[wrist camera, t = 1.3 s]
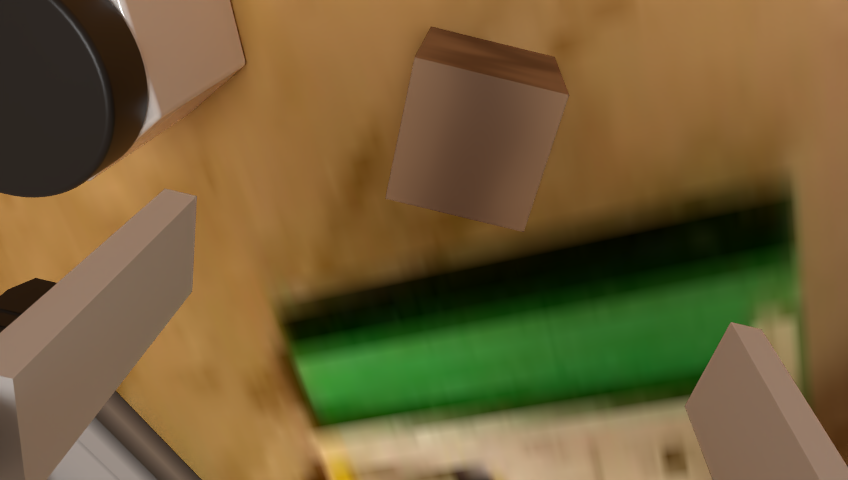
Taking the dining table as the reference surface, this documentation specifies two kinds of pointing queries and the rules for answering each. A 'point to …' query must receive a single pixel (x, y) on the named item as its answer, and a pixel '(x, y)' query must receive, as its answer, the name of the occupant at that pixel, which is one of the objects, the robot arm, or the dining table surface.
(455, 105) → the walnut block
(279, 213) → the dining table surface
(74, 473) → the grey tray
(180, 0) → the jar
